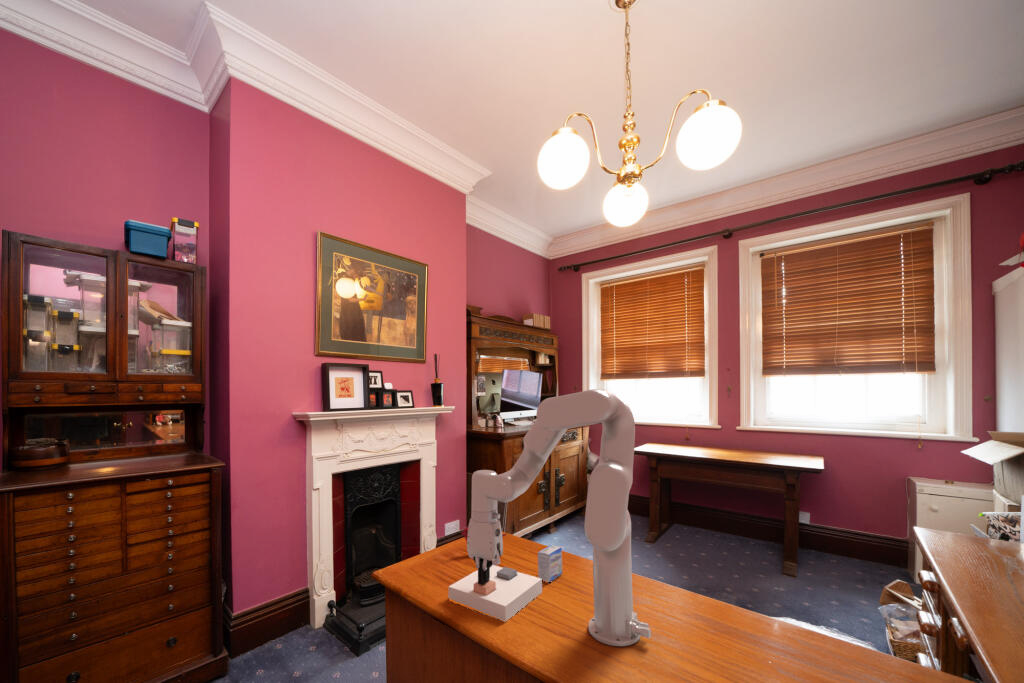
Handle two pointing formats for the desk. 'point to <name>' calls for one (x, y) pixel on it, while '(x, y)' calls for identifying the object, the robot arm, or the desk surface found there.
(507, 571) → the grey key
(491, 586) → the terracotta key
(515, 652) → the desk surface
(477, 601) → the key console
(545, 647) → the desk surface
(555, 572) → the medicine box
